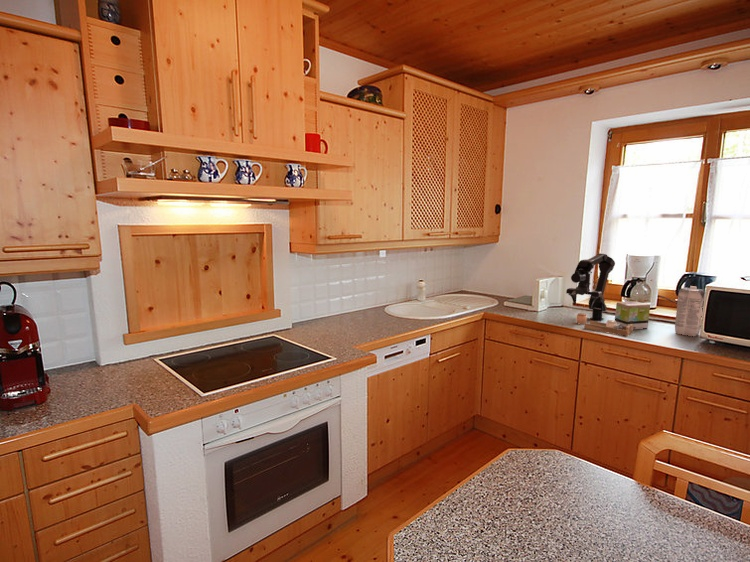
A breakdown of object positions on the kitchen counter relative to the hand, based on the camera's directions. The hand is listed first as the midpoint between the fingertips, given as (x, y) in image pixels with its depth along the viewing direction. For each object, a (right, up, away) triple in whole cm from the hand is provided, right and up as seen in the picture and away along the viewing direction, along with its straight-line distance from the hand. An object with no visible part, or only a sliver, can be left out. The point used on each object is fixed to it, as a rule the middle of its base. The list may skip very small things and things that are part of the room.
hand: (582, 306), depth 255 cm
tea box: (+25, -12, -8) cm, 29 cm away
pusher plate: (+11, -14, -18) cm, 25 cm away
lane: (+7, -13, -14) cm, 21 cm away
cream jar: (+8, -13, -16) cm, 22 cm away
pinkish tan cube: (0, -11, +2) cm, 11 cm away
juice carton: (+47, -14, -22) cm, 54 cm away
